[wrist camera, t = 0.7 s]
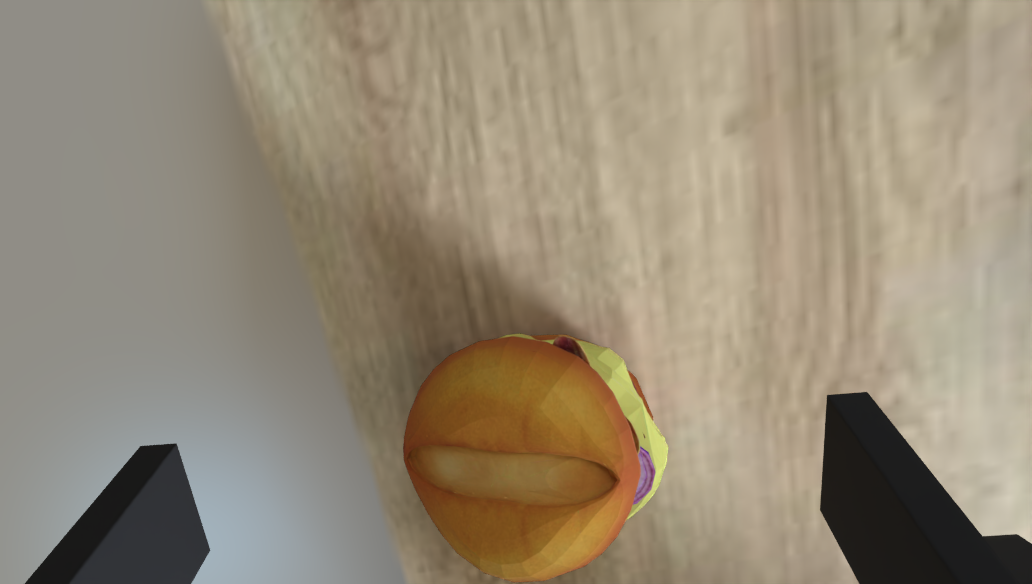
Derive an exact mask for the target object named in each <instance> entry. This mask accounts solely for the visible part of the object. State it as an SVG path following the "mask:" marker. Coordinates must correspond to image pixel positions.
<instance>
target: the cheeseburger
mask: <svg viewBox="0 0 1032 584" xmlns="http://www.w3.org/2000/svg"><path fill="white" fill-rule="evenodd" d="M403 452H404V462H405V465H406V468H407V470H408V473H409V475H410V478H411V480H412V483H413V485H414V488H415V490H416V492H417V494H418V496H419V498H420V499H421V501H422V503H423V505H424V507H425V509H426V511H427V513H428V514H429V516H430V518H431V519H432V521H433V522H434V524H435V525H436V527H437V528H438V530H439V531H440V533H441V534H442V536H443V537H444V538H445V539H446V540H447V542H448V543H449V544H450V545H451V546H452V548H453V549H454V550H455V551H456V552H457V553H458V554H459V555H460V556H462V557H463V558H464V559H466V560H467V561H468V562H470V563H471V564H473V565H474V566H475V567H477V568H478V569H479V570H481V571H482V572H483V573H485V574H489V575H492V576H495V577H498V578H501V579H504V580H507V581H511V582H533V581H545V580H548V579H551V578H553V577H556V576H559V575H562V574H565V573H568V572H570V571H573V570H576V569H579V568H582V567H584V566H586V565H587V564H588V563H590V562H591V561H592V560H594V559H595V558H597V557H598V556H599V555H601V554H602V553H603V552H604V551H605V550H606V548H607V547H608V546H609V545H610V544H611V543H612V542H613V541H614V540H615V539H616V537H617V536H618V534H619V532H620V530H621V528H622V526H623V524H624V523H625V521H626V520H628V519H629V518H630V517H632V516H633V515H634V514H635V513H636V512H638V511H639V510H640V509H641V508H642V507H643V506H644V505H645V504H646V503H647V502H648V501H649V500H650V498H651V497H652V496H653V495H654V493H655V491H656V489H657V488H658V486H659V485H660V481H661V477H662V474H663V471H664V469H665V466H666V463H667V454H668V446H667V444H666V443H665V437H664V436H662V435H661V433H660V431H659V430H658V428H657V427H656V425H655V424H654V422H653V416H652V413H651V411H650V409H649V407H648V404H647V402H646V400H645V397H644V395H643V393H642V391H641V388H640V386H639V384H638V381H637V379H636V378H635V377H634V375H633V374H632V373H630V372H629V371H628V370H627V368H626V365H625V363H624V360H623V359H622V358H621V357H619V356H618V355H617V354H616V353H614V352H613V351H612V350H611V349H609V348H605V347H600V346H597V345H594V344H592V343H589V342H586V341H583V340H580V339H577V338H574V337H571V336H568V335H537V336H528V335H524V334H521V333H520V334H512V335H505V336H503V337H500V338H497V339H491V340H485V341H479V342H477V343H475V344H473V345H470V346H468V347H466V348H464V349H462V350H460V351H458V352H456V353H453V354H451V355H449V356H448V357H447V358H446V359H445V360H444V361H443V362H441V363H440V364H439V365H438V366H437V367H436V368H435V369H434V370H433V371H432V372H431V373H430V375H429V376H428V377H427V379H426V380H425V381H424V383H423V384H422V385H421V387H420V389H419V392H418V394H417V396H416V399H415V401H414V403H413V406H412V408H411V410H410V414H409V417H408V421H407V426H406V431H405V436H404V446H403Z"/></svg>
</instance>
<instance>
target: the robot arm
mask: <svg viewBox="0 0 1032 584" xmlns="http://www.w3.org/2000/svg"><path fill="white" fill-rule="evenodd" d="M820 511H821V512H822V514H823V516H824V518H825V520H826V522H827V524H828V526H829V527H830V529H831V531H832V533H833V535H834V537H835V539H836V541H837V542H838V544H839V546H840V548H841V550H842V552H843V554H844V556H845V557H846V559H847V561H848V563H849V565H850V567H851V569H852V571H853V572H854V574H855V576H856V578H857V580H858V582H859V584H1032V544H1031V543H1030V542H1028V541H1026V540H1025V539H1023V538H1022V537H1020V536H1019V535H1017V534H1015V535H999V536H983V537H982V535H981V534H980V533H979V532H978V530H977V529H976V528H975V527H974V525H973V524H972V523H971V522H970V520H969V519H968V518H967V517H966V515H965V514H964V513H963V511H962V510H961V509H960V508H959V506H958V505H957V504H956V503H955V501H954V500H953V499H952V498H951V496H950V495H949V494H948V493H947V491H946V490H945V489H944V488H943V486H942V485H941V484H940V483H939V481H938V480H937V479H936V478H935V476H934V475H933V474H932V473H931V471H930V470H929V469H928V468H927V466H926V465H925V464H924V463H923V461H922V460H921V459H920V458H919V456H918V455H917V454H916V453H915V451H914V450H913V449H912V448H911V446H910V445H909V444H908V443H907V441H906V440H905V439H904V438H903V436H902V435H901V434H900V433H899V431H898V430H897V429H896V428H895V426H894V425H893V424H892V423H891V421H890V420H889V419H888V418H887V416H886V415H885V414H884V413H883V411H882V410H881V409H880V408H879V406H878V405H877V404H876V403H875V401H874V400H873V399H872V398H871V396H870V395H869V394H868V393H867V392H862V393H849V394H835V395H827V405H826V422H825V439H824V455H823V472H822V489H821V506H820ZM209 551H210V548H209V545H208V542H207V539H206V536H205V533H204V529H203V526H202V523H201V520H200V517H199V514H198V510H197V507H196V504H195V501H194V498H193V494H192V491H191V488H190V485H189V481H188V479H187V475H186V472H185V469H184V466H183V462H182V459H181V456H180V453H179V450H178V447H177V444H164V445H150V446H140V448H139V449H138V450H137V451H136V452H135V453H134V455H133V456H132V457H131V458H130V459H129V461H128V462H127V463H126V464H125V465H124V466H123V468H122V469H121V470H120V471H119V472H118V474H117V475H116V476H115V477H114V478H113V480H112V481H111V482H110V483H109V484H108V485H107V487H106V488H105V489H104V490H103V491H102V493H101V494H100V495H99V496H98V497H97V498H96V500H95V501H94V502H93V503H92V504H91V506H90V507H89V508H88V509H87V511H86V512H85V513H84V514H83V515H82V516H81V517H80V519H79V520H78V521H77V522H76V523H75V525H74V526H73V527H72V528H71V529H70V530H69V532H68V533H67V534H66V535H65V536H64V538H63V539H62V540H61V541H60V543H59V544H58V545H57V546H56V547H55V548H54V549H53V551H52V552H51V553H50V554H49V555H48V557H47V558H46V559H45V560H44V561H43V563H42V564H41V565H40V566H39V567H38V569H37V570H36V571H35V572H34V573H33V574H32V576H31V577H30V578H29V579H28V580H27V582H26V583H25V584H191V583H192V581H193V579H194V578H195V576H196V574H197V572H198V570H199V569H200V567H201V565H202V563H203V562H204V560H205V558H206V556H207V555H208V553H209Z"/></svg>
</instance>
